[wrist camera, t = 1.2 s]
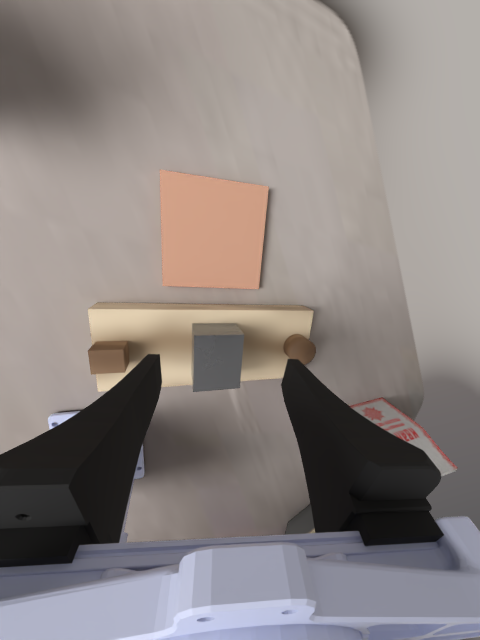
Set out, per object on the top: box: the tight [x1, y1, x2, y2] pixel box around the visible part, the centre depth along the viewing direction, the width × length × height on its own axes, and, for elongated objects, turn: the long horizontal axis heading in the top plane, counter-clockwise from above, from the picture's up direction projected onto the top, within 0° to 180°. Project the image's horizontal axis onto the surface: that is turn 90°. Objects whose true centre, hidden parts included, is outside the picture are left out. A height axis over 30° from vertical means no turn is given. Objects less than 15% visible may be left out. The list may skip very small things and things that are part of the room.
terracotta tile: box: [160, 170, 269, 289], centre depth 20 cm, size 9×9×1 cm
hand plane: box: [88, 303, 316, 392], centre depth 22 cm, size 8×20×4 cm, turn 85°
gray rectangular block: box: [191, 323, 244, 392], centre depth 20 cm, size 5×4×3 cm
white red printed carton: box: [350, 398, 457, 476], centre depth 28 cm, size 4×7×10 cm, turn 94°
